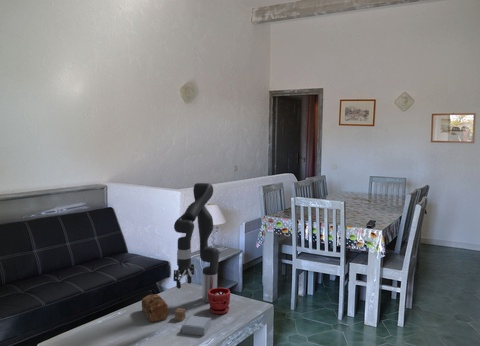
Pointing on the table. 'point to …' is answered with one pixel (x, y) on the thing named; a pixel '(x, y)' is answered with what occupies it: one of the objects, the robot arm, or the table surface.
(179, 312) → the walnut cube
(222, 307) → the plant pot
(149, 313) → the bread
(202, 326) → the pedestal
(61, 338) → the table surface
